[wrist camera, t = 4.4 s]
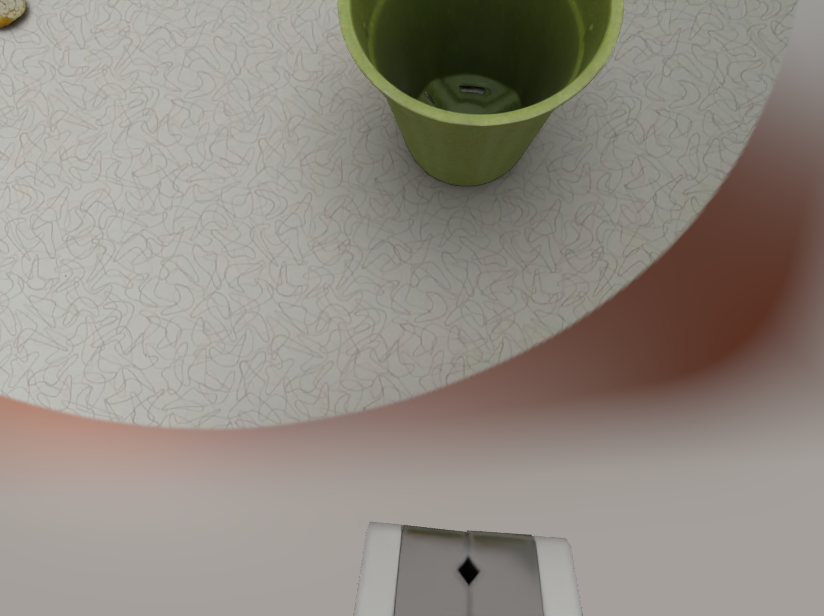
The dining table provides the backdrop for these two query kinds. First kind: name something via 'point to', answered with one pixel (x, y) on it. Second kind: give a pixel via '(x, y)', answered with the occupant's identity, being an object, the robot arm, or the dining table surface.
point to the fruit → (11, 11)
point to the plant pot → (477, 72)
